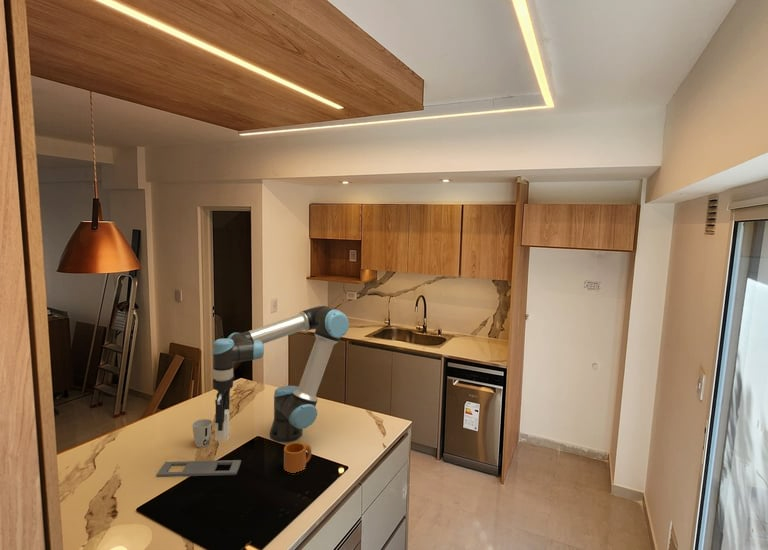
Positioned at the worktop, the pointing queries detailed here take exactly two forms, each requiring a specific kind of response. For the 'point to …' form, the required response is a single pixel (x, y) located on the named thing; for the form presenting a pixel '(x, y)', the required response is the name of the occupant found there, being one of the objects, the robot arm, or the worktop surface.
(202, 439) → the cup
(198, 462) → the socket strip
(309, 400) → the robot arm
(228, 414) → the plug
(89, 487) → the worktop surface
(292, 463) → the mug
